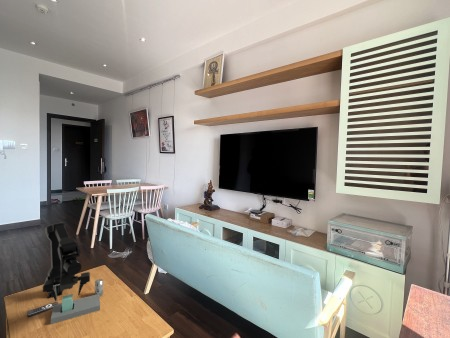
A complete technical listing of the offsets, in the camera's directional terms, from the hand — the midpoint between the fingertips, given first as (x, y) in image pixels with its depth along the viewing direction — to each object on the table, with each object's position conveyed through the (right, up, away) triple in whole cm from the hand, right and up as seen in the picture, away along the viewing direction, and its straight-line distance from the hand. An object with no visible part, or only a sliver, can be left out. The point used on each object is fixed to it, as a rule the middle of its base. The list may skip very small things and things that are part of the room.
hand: (67, 297), depth 109 cm
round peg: (+7, -7, +16) cm, 18 cm away
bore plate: (+3, -8, +3) cm, 9 cm away
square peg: (-1, -8, 0) cm, 8 cm away
